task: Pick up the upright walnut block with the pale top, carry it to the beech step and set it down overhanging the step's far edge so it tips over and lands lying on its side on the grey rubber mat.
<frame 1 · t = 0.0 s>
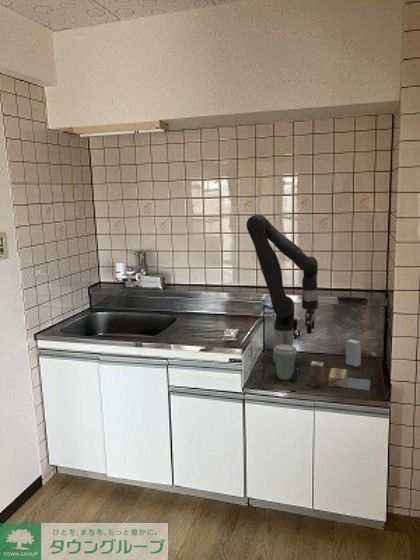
hand: (310, 330, 224), 17 cm above the counter, tool pointing down, fingers open, 8 cm apart
beech step: (338, 381, 206), on the counter
rubber mat: (358, 384, 203), on the counter
walnut block: (316, 384, 204), on the counter
skincare box: (352, 365, 226), on the counter
disposable coffee cup: (285, 377, 213), on the counter
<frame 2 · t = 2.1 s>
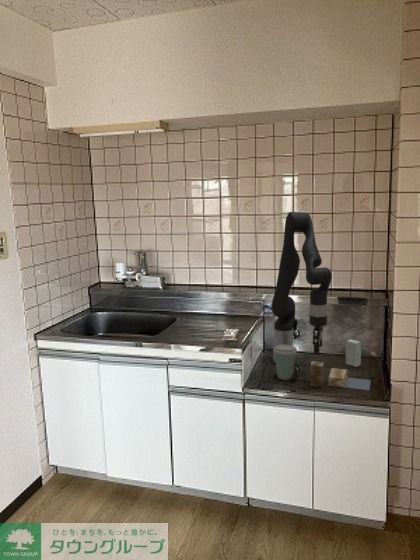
hand: (318, 349, 201), 16 cm above the counter, tool pointing down, fingers open, 8 cm apart
nothing on the counter moved.
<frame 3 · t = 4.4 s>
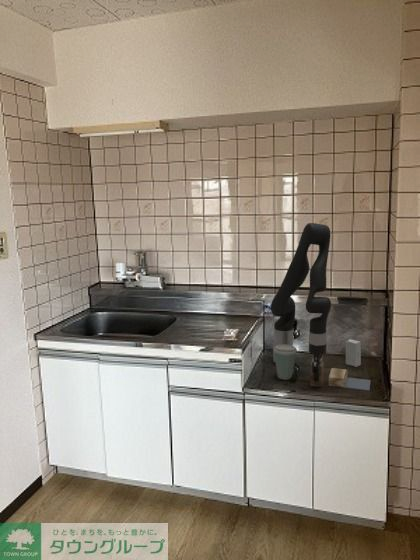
hand: (317, 378, 203), 3 cm above the counter, tool pointing down, fingers closed on walnut block, 4 cm apart
walnut block: (316, 384, 204), on the counter, touching gripper
everything else where it was.
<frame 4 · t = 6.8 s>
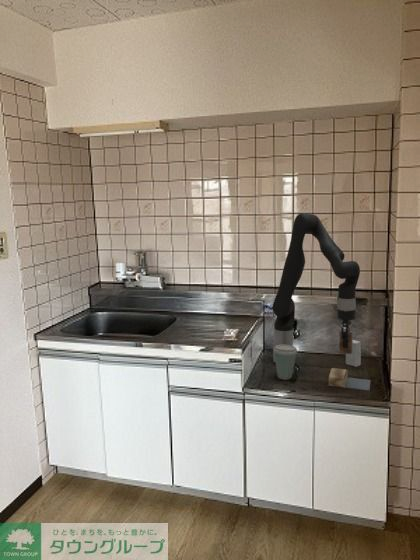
hand: (345, 345, 200), 18 cm above the counter, tool pointing down, fingers closed on walnut block, 4 cm apart
walnut block: (345, 351, 201), point 15 cm above the counter, touching gripper
everything else where it was.
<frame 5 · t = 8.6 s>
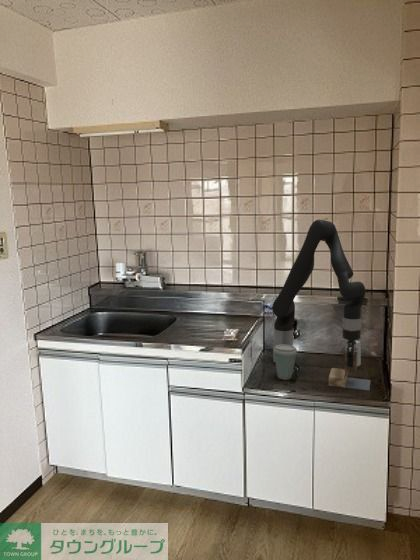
hand: (350, 364, 203), 9 cm above the counter, tool pointing down, fingers closed on walnut block, 4 cm apart
walnut block: (350, 370, 203), point 6 cm above the counter, touching gripper
everything else where it was.
when the fingers open (7 cm above the counter, at t = 9.7 s): walnut block drops 1 cm and tips over, resting on rubber mat.
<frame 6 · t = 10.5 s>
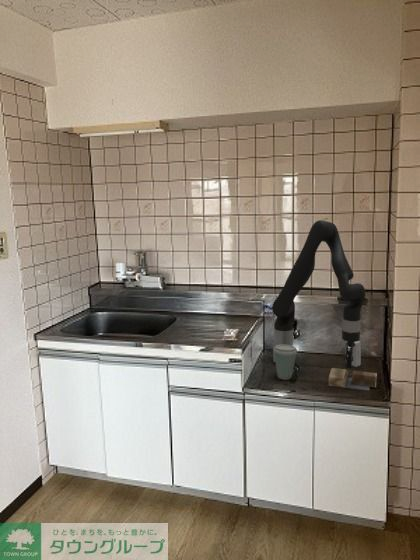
hand: (349, 364, 203), 9 cm above the counter, tool pointing down, fingers open, 8 cm apart
walnut block: (352, 377, 203), point 3 cm above the counter, tilted 90°, touching rubber mat
everything else where it was.
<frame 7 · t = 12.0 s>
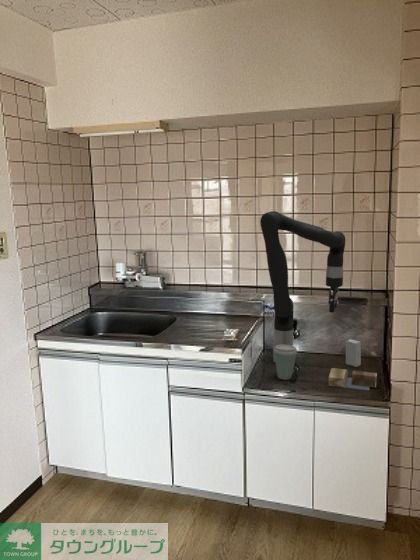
hand: (333, 309, 214), 30 cm above the counter, tool pointing down, fingers open, 8 cm apart
nothing on the counter moved.
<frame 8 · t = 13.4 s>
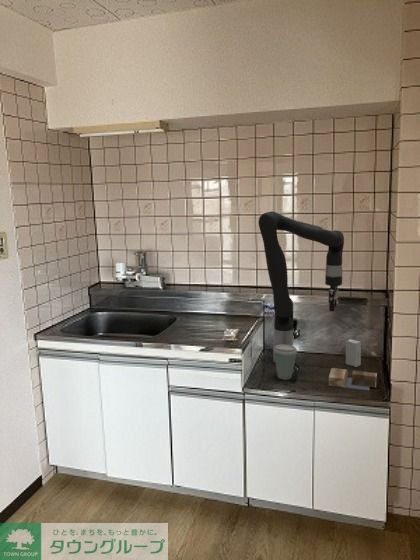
hand: (332, 308, 214), 30 cm above the counter, tool pointing down, fingers open, 8 cm apart
nothing on the counter moved.
at the end: walnut block tilted 90°; walnut block inside the target area (2.5 cm from its centre), point 2.8 cm above the counter; the gripper is holding nothing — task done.
